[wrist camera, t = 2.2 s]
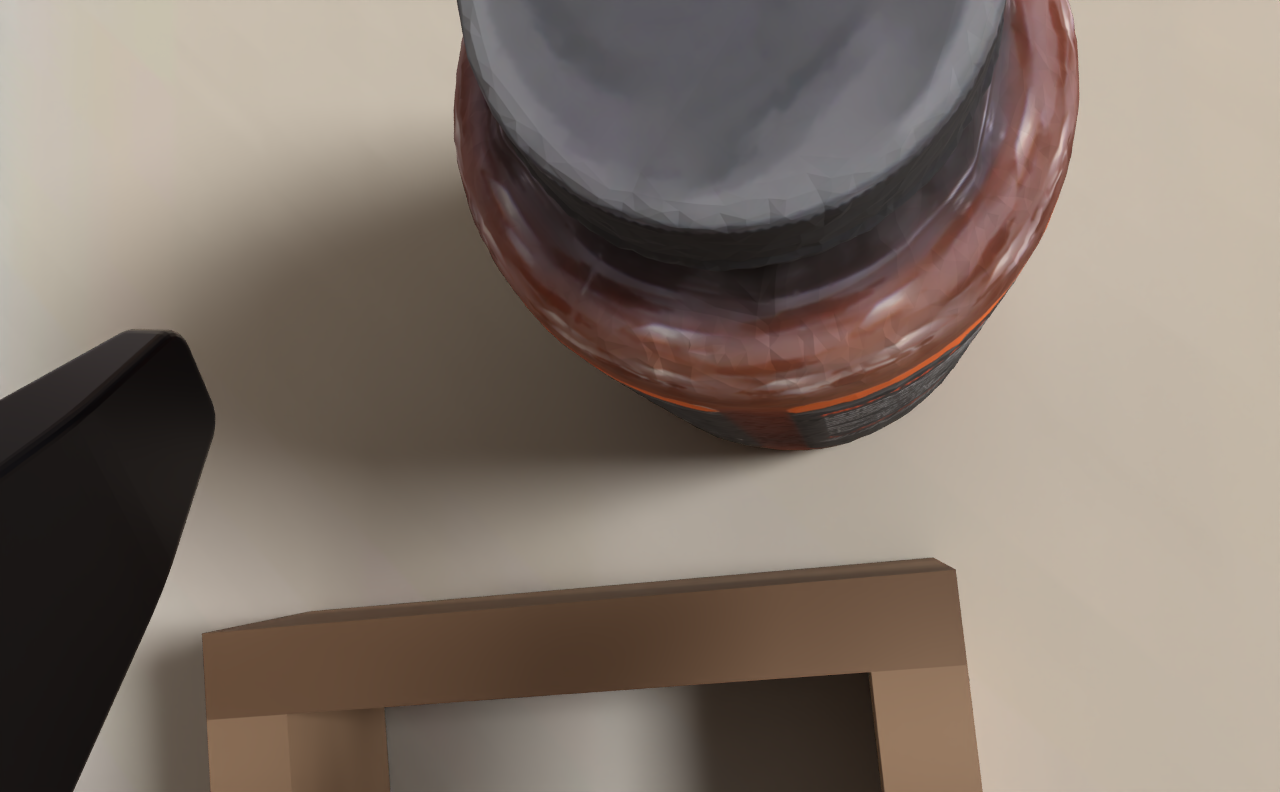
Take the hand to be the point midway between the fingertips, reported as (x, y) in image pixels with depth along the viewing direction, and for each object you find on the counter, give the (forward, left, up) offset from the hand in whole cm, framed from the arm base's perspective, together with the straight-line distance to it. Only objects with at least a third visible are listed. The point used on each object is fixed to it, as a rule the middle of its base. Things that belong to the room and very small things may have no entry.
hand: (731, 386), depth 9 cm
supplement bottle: (+3, 0, -10) cm, 11 cm away
